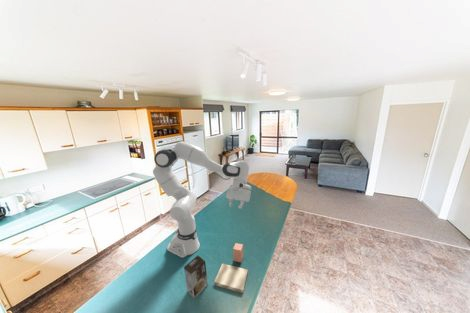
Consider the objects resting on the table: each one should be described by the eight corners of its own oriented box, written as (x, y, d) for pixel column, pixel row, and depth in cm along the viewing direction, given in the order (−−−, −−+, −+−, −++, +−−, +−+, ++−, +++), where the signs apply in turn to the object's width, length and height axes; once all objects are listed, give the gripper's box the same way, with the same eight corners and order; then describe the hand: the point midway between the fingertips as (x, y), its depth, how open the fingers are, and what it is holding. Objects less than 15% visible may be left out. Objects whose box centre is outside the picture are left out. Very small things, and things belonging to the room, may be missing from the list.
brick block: (233, 260, 105) (233, 248, 103) (235, 254, 109) (235, 243, 107) (241, 262, 103) (241, 250, 101) (243, 256, 108) (243, 244, 106)
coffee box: (200, 278, 94) (198, 254, 90) (208, 285, 90) (205, 260, 86) (186, 291, 87) (183, 266, 83) (194, 299, 83) (191, 273, 79)
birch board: (214, 284, 90) (214, 281, 90) (222, 266, 101) (222, 263, 101) (242, 293, 85) (242, 290, 85) (248, 272, 97) (247, 269, 96)
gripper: (226, 184, 114) (221, 204, 110) (245, 185, 98) (241, 209, 94) (233, 186, 118) (229, 205, 114) (253, 187, 102) (249, 210, 98)
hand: (235, 207), depth 104 cm, fingers open, 8 cm apart
